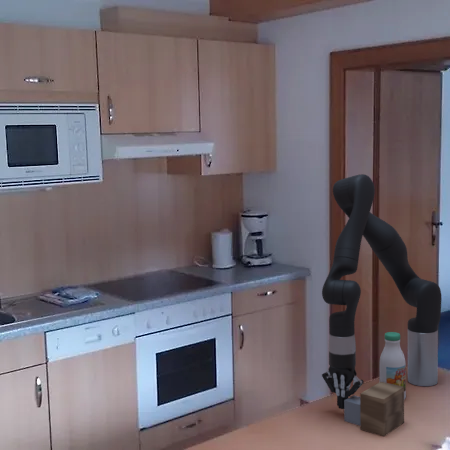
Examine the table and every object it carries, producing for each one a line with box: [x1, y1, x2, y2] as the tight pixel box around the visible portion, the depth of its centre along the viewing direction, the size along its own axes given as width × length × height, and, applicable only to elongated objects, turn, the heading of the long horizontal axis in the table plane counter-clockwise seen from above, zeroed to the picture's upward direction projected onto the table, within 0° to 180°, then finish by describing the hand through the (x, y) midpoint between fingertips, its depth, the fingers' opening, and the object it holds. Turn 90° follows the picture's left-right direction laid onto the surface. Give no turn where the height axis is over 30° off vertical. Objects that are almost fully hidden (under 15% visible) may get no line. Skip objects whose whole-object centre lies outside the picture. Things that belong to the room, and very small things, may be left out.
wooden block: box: [359, 381, 405, 437], centre depth 186 cm, size 11×7×10 cm, turn 138°
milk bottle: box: [379, 331, 407, 401], centre depth 205 cm, size 8×8×20 cm
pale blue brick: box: [343, 394, 361, 427], centre depth 188 cm, size 5×12×6 cm, turn 47°
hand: (342, 408), depth 195 cm, fingers closed
